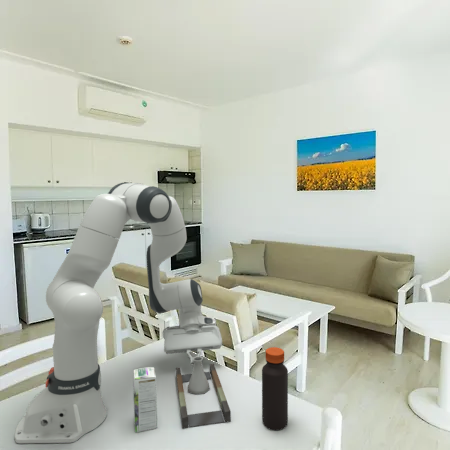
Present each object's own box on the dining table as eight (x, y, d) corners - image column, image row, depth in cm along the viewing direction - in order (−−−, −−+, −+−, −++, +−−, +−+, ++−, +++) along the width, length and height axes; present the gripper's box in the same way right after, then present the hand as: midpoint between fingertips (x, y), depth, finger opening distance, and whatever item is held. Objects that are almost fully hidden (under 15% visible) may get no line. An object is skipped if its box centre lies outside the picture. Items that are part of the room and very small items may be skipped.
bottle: (293, 425, 94) (293, 353, 92) (272, 434, 90) (272, 359, 89) (277, 411, 100) (277, 343, 98) (257, 419, 96) (256, 349, 94)
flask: (206, 396, 108) (206, 364, 107) (184, 393, 109) (183, 362, 108) (212, 383, 115) (211, 354, 114) (190, 381, 116) (190, 352, 115)
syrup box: (134, 419, 97) (131, 369, 96) (155, 415, 99) (154, 365, 97) (135, 433, 92) (133, 379, 90) (158, 428, 93) (156, 376, 92)
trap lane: (182, 428, 93) (182, 417, 93) (176, 376, 120) (175, 367, 119) (230, 421, 96) (230, 411, 95) (213, 372, 122) (213, 363, 122)
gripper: (162, 323, 124) (163, 363, 115) (219, 318, 128) (225, 356, 119) (162, 330, 128) (163, 369, 120) (217, 326, 132) (223, 363, 124)
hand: (195, 363), depth 119 cm, fingers closed
